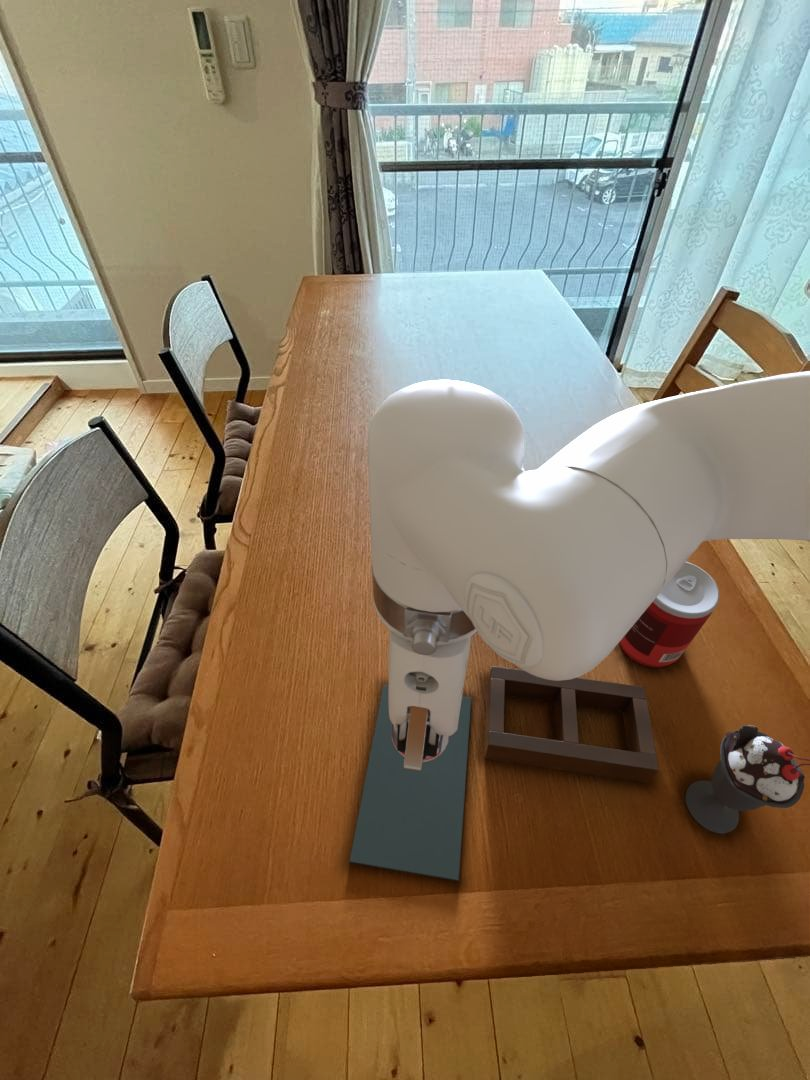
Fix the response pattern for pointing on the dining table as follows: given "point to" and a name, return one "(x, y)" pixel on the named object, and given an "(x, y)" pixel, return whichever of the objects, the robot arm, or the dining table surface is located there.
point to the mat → (413, 804)
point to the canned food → (672, 618)
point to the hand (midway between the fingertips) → (421, 714)
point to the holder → (571, 726)
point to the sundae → (746, 780)
